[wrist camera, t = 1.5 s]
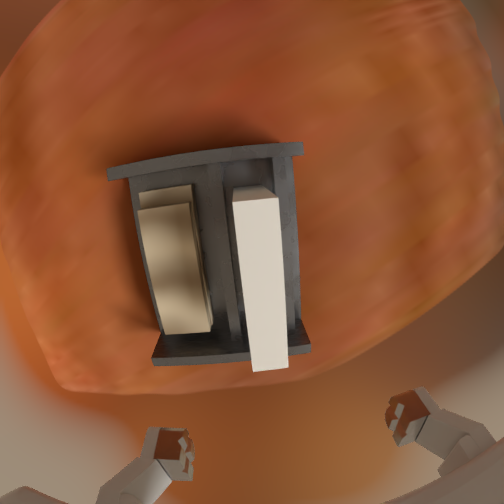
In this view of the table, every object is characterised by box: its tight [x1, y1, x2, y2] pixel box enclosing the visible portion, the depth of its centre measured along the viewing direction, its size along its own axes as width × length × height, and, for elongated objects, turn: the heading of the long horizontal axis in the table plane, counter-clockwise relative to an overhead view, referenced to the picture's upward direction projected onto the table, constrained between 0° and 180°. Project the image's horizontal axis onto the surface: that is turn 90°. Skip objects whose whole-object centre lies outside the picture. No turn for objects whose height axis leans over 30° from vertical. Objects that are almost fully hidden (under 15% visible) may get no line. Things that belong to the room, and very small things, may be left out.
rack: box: [107, 142, 311, 366], centre depth 30 cm, size 22×18×7 cm
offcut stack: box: [137, 183, 214, 335], centre depth 30 cm, size 16×6×4 cm, turn 6°
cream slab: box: [232, 185, 288, 372], centre depth 26 cm, size 14×3×12 cm, turn 6°
